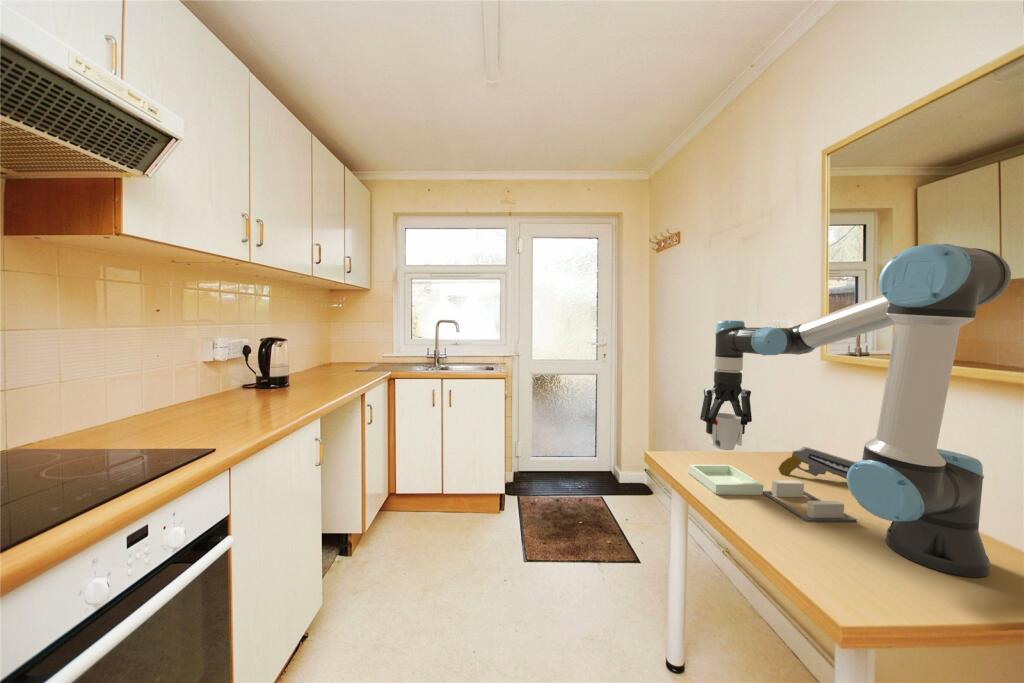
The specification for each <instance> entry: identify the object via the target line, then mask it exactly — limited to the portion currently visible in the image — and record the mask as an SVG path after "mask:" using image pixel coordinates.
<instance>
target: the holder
mask: <svg viewBox="0 0 1024 683" xmlns="http://www.w3.org/2000/svg"><path fill="white" fill-rule="evenodd" d="M763 495H765V496H766V497H767V498H769V499H770V500H772V501H774V502H775V503H777V504H778V505H780V506H781V507H783V508H785V509H786V510H788V511H789V512H790V513H792V514H794V515H796V516H797V517H798V518H801V519H802V520H804V521H805V522H807V523H812V522H813V523H823V522H824V523H827V522H828V523H829V522H830V523H831V522H832V523H838V522H839V523H840V522H841V523H842V522H843V523H844V522H849V523H851V522H855V523H856V522H857V519H856V518H855V517H853V516H851V515H849V514H847V513H845V504H844V503H842V502H841V501H839V500H821V499H820V498H817V497H816V496H814V495H812V494H810V493H808V492H807V491H805V483H804V482H802V481H800V480H772V481H771V490H763ZM804 496H806V497H807V498H809V499H811V500H807V505H806V508H807V510H806V515H804V514H802V513H801V512H799V511H797V510H796V509H794V508H792V507H791V506H789V504H786V503H784V502H783V501H781V500H780V499H778V498H804Z"/></svg>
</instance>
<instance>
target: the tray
mask: <svg viewBox="0 0 1024 683" xmlns="http://www.w3.org/2000/svg"><path fill="white" fill-rule="evenodd" d="M688 474H689V475H690V476H691V477H692V478H694V479H695V480H696V481H697V482H698V483H700V484H701V485H702V486H704V487H705V488H706V489H708V491H710V492H711V493H713V494H714V495H715V496H719V495H720V496H723V495H724V496H726V495H727V496H745V495H746V496H762V495H764V494H763V491H764V484H763V483H762V482H759V481H758V480H756V479H755V478H753V477H751V476H750V475H748V474H746V473H745V472H743V471H742V470H740V469H738V468H736V467H734V466H733V465H732V464H688Z"/></svg>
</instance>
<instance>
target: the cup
mask: <svg viewBox="0 0 1024 683" xmlns="http://www.w3.org/2000/svg"><path fill="white" fill-rule="evenodd" d="M740 423H741V417H737V416H736V415H735V413H733V414H732V413H727V412H718V414H717V417H716V419H715V421H714V424H716V440H715V446H714V447H715V448H717V449H718V450H723V451H724V450H725V451H733V450H735V447H736V445H737V444H736V443H737V439H738V435H739V431H740Z"/></svg>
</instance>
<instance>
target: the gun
mask: <svg viewBox="0 0 1024 683" xmlns="http://www.w3.org/2000/svg"><path fill="white" fill-rule="evenodd" d="M857 462H858V461H853V460H850V459H848V458H847V459H846V458H843V457H841V456H837V455H833V454H830V453H828V452H823V451H821V450H818V449H814V448H811V447H806V446H803V447H801V448H799V449H798V450H793V451H792V454H791V456H789V457H787V458H786V459H784V460H783V461H782V462H781V463H780V465H779V466H778V468H777V469H778V471H779V473H780V474H781V475H783V476H786V477H789V476H790V474H791V473H792V472H793V471H794V470H795V469H798V470H800V471H803V472H805V473H808V474H809V475H812V476H814V477H817V476H819V475H826V473H830V474H832V475H834V476H838V477H841V478H843V479H845V480H847V472H848V470H849V469H850V467H851V466H852V465H854V464H855V463H857ZM802 463H803V464H805V465H808V468H807V469H805V468H803V467H801V466H800V465H801V464H802Z"/></svg>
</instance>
